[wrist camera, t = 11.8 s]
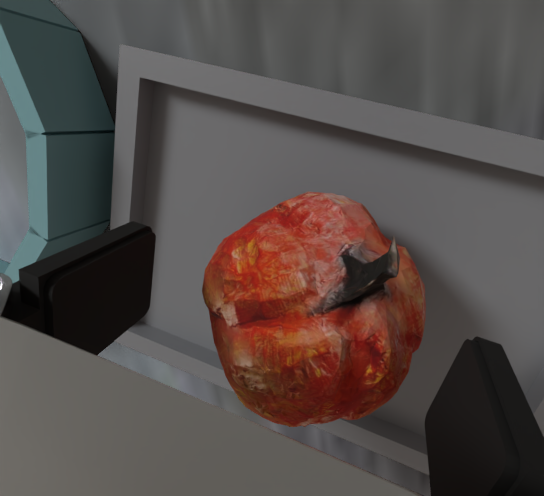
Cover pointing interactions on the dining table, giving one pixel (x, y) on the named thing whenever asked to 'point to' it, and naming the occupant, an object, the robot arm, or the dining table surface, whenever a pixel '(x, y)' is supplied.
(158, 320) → the tray
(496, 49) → the dining table surface
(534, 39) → the dining table surface
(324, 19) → the dining table surface
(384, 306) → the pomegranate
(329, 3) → the dining table surface
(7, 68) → the teal polygonal ring
